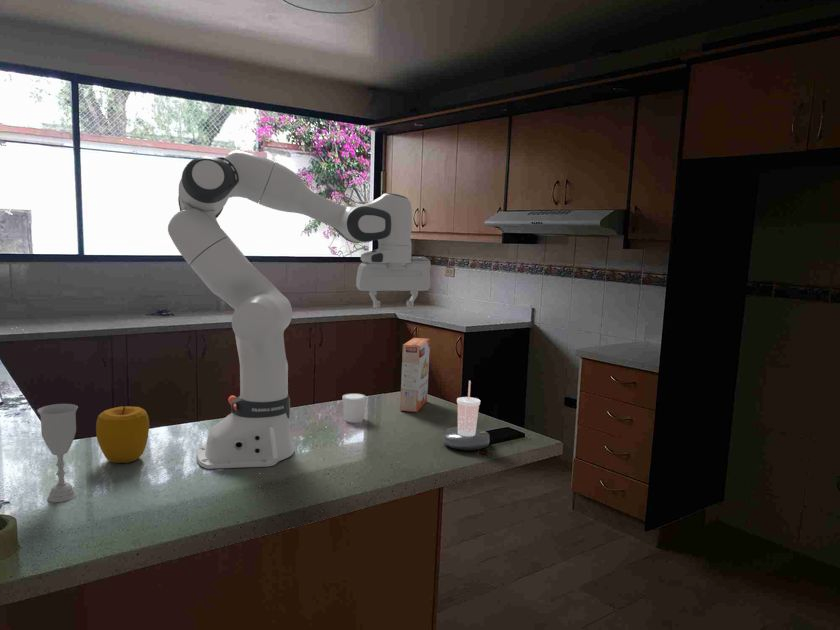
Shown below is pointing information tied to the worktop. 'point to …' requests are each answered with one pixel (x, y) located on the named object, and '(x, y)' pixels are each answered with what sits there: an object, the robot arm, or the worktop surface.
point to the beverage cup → (467, 414)
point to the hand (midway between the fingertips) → (393, 307)
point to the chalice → (59, 443)
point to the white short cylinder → (354, 407)
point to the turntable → (465, 440)
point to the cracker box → (414, 374)
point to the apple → (122, 433)
